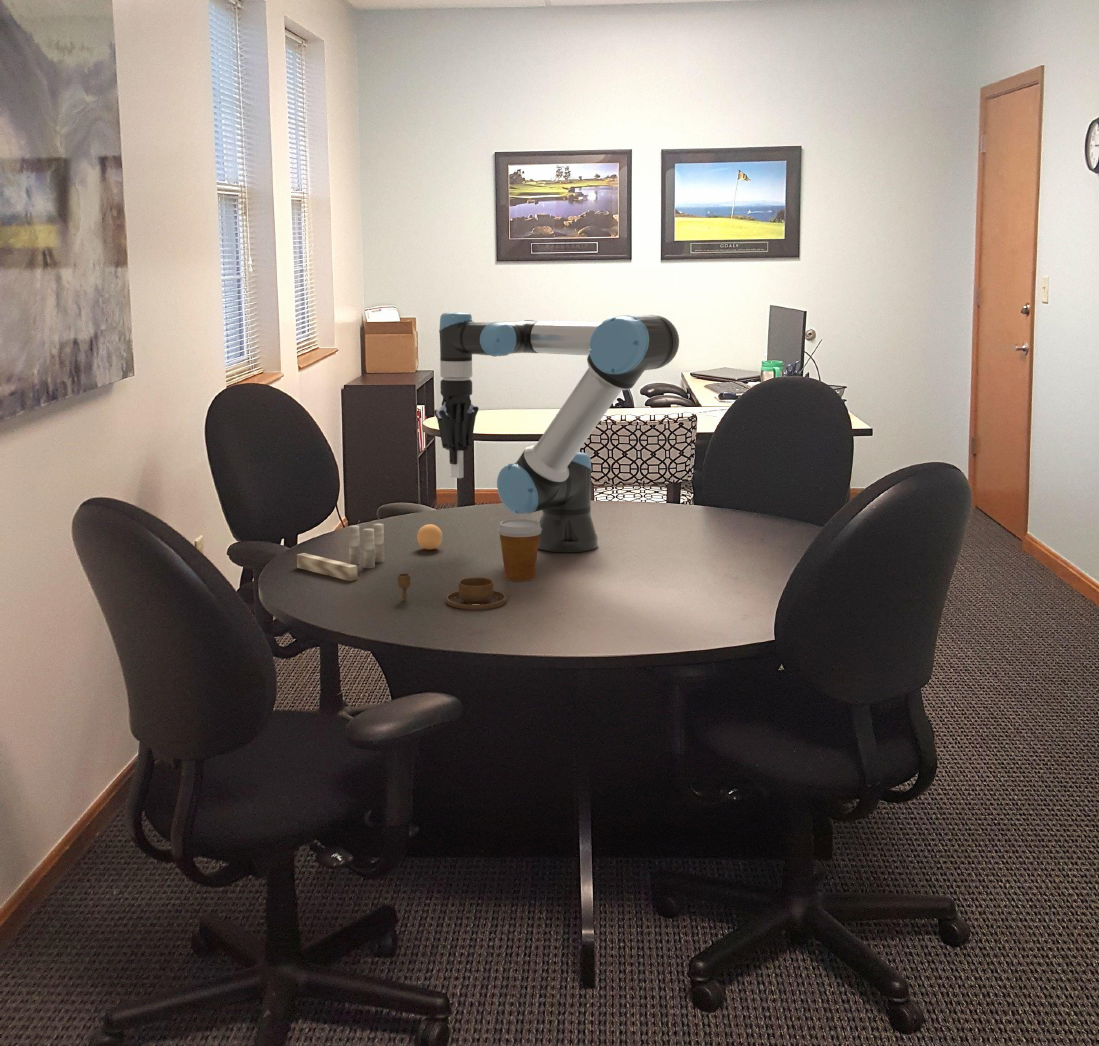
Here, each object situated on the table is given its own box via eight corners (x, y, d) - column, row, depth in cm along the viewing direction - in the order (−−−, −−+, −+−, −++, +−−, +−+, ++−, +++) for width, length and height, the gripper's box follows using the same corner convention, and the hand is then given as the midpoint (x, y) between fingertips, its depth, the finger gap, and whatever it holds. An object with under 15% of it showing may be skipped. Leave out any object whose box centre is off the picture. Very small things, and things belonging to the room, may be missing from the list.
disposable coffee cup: (536, 584, 250) (536, 528, 247) (492, 582, 252) (492, 526, 249) (546, 573, 259) (546, 519, 256) (503, 571, 261) (503, 517, 258)
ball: (448, 549, 282) (447, 524, 280) (429, 553, 277) (429, 528, 276) (430, 545, 286) (430, 520, 284) (412, 549, 281) (411, 524, 280)
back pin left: (377, 566, 264) (376, 529, 263) (369, 568, 263) (367, 531, 261) (370, 565, 266) (369, 528, 264) (361, 567, 264) (360, 529, 262)
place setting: (472, 620, 226) (472, 590, 225) (392, 604, 237) (392, 575, 236) (525, 600, 240) (525, 572, 239) (447, 585, 251) (447, 558, 250)
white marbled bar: (357, 579, 253) (357, 565, 253) (350, 581, 252) (349, 567, 251) (304, 566, 265) (304, 552, 264) (297, 567, 263) (296, 554, 263)
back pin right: (362, 563, 267) (361, 526, 266) (354, 565, 266) (353, 528, 264) (355, 561, 269) (354, 524, 267) (347, 563, 267) (345, 526, 265)
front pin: (386, 561, 270) (385, 524, 268) (378, 563, 268) (377, 526, 266) (379, 559, 271) (378, 523, 269) (371, 561, 269) (370, 524, 268)
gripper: (464, 376, 288) (465, 472, 292) (425, 379, 278) (426, 478, 283) (486, 378, 283) (487, 475, 288) (447, 381, 273) (449, 482, 278)
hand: (457, 477), depth 285 cm, fingers closed
